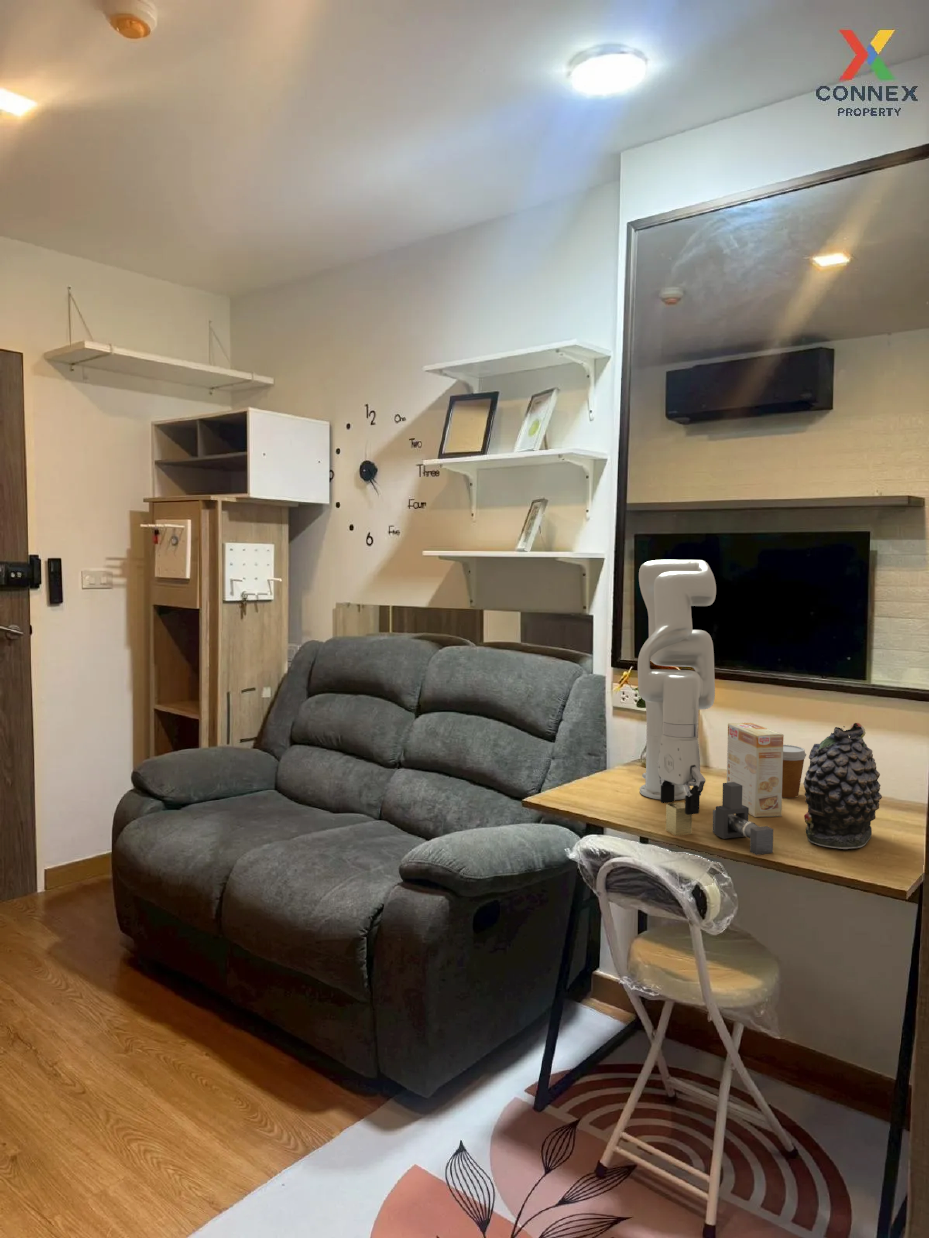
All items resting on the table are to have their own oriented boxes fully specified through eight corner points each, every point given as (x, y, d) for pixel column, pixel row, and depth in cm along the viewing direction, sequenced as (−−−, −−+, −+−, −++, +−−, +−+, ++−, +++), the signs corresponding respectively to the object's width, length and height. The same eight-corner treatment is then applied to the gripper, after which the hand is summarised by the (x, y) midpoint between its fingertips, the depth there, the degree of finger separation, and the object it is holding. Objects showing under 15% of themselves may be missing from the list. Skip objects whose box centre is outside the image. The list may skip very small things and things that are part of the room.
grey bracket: (715, 834, 180) (716, 783, 179) (739, 831, 182) (740, 781, 181) (723, 838, 177) (724, 787, 176) (747, 835, 179) (749, 784, 178)
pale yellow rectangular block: (665, 830, 184) (666, 803, 184) (681, 828, 185) (681, 802, 185) (675, 835, 180) (676, 808, 180) (691, 833, 182) (692, 807, 181)
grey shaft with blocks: (712, 832, 183) (713, 809, 182) (728, 830, 184) (728, 807, 183) (756, 854, 168) (756, 830, 168) (772, 852, 170) (773, 828, 169)
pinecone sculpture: (814, 820, 191) (817, 713, 189) (886, 832, 182) (890, 720, 181) (791, 845, 174) (794, 728, 172) (869, 860, 165) (874, 736, 164)
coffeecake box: (782, 816, 194) (784, 734, 192) (754, 817, 193) (756, 735, 191) (751, 798, 208) (753, 721, 207) (725, 799, 207) (726, 722, 206)
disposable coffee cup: (809, 800, 206) (810, 753, 206) (769, 798, 208) (770, 751, 207) (800, 790, 216) (801, 744, 215) (762, 788, 217) (763, 743, 216)
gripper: (644, 725, 188) (644, 799, 189) (687, 738, 172) (686, 820, 172) (673, 723, 190) (672, 797, 191) (718, 736, 174) (717, 817, 175)
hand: (679, 808), depth 182 cm, fingers open, 9 cm apart
